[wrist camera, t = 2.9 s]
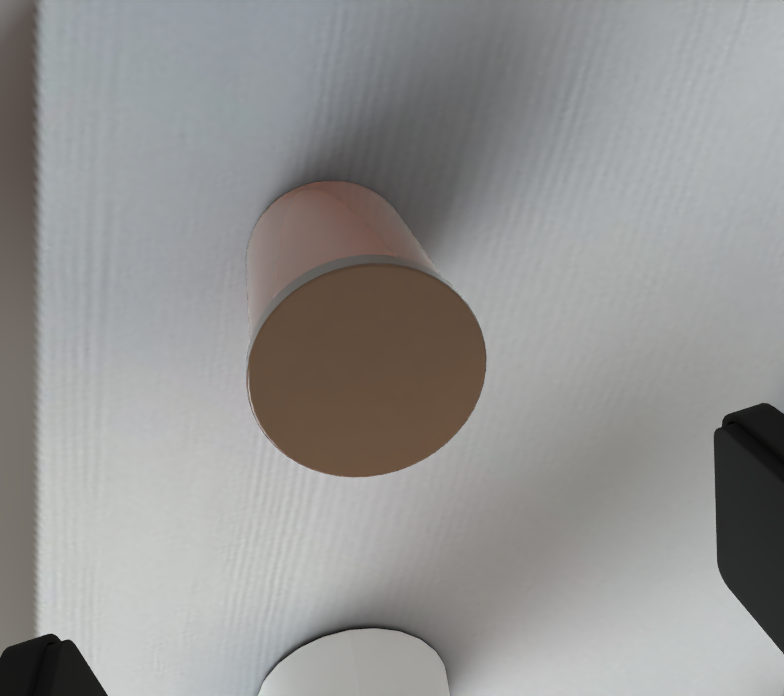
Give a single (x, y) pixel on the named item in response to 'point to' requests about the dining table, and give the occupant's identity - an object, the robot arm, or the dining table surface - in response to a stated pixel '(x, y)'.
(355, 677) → the cup
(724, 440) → the robot arm
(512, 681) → the dining table surface
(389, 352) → the salt pot
